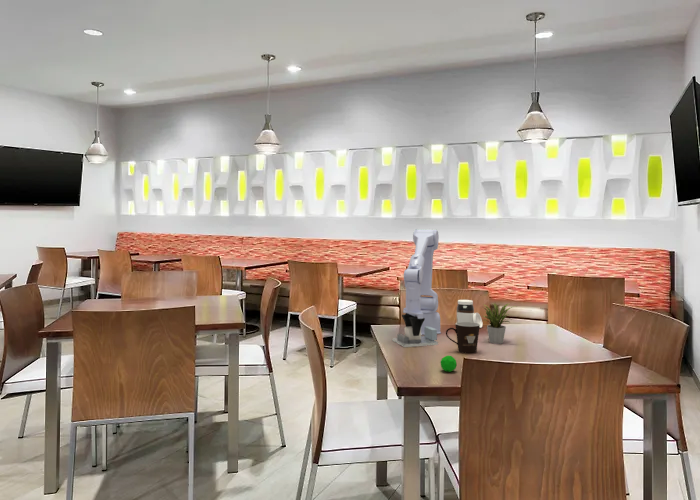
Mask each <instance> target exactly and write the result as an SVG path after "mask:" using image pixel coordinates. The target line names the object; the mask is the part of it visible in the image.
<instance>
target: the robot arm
mask: <svg viewBox="0 0 700 500" xmlns="http://www.w3.org/2000/svg"><path fill="white" fill-rule="evenodd" d="M412 240H413V243H414V245H415V248H414V254H412V255H411V256H410V259H409V263H408V266H407V268H406V269H404V272H403V281H404V282H403V283H404V289H405V307H403V310H402V313H403V314H401V317H402V318H403V321H404V325H405V327H411V326H412V330H413V336H419V334H420V329H421V336H424V327H428V326H429V327H432V328H434V329H436V330H437V335H438V334H439V335H440V334H442V332H441V315H440V313H439V312H438V308H439V296H438V295H439V294H438V293H437V292H436V291H434V289H432V288H433V287H432V285H433V284H432V283H433V264H434V263H433V262H434V252H435V251H436V250H438V249H439V231H438V230H437V229H436V228H435V229H433V228H432V229H430V228H429V229H418V228H416V229H414V230H413V234H412Z"/></svg>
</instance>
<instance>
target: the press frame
mask: <svg viewBox="0 0 700 500" xmlns="http://www.w3.org/2000/svg"><path fill="white" fill-rule="evenodd" d="M392 342H394V343H395V344H398V345H399V346H401V347H403V348H413V347H414V348H415V347H426V346H427V345H428V346H437V345H439V341H437V340H430V339H428V338H426V337H424V335H421V339H416V340H409V337H407V336H405V334H402V333H397V334H396V337H392Z"/></svg>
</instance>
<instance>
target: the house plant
mask: <svg viewBox="0 0 700 500" xmlns="http://www.w3.org/2000/svg"><path fill="white" fill-rule="evenodd" d="M482 305H483V306H484V307H483V306H480V307H482V308H483V309H484V310H485V314H486V315H482V317H484V318H486V319H485V321H486V322H488V323H489V324H487V325H486V326H487V327H486V329H487V336H488V340H489V341H488V342H489V343H491V344H496V345H500V344H503V343H504V340H505V339H504V338H505V333H506V328H507V327H506V325H502V324H503V323H506V322H508V323H510V321H509V320H511V318H509V317H508V318H507V316H508V314H507V312H508V311H509V310H510V309H511V308H517V307H518V306H516V305H513V306H511V307H509V308H508V307H507V306H508V305H509V303H507V304H505V305H503V306H502V307H501V309H500V312H499V307H498V305H497V304H496V302H494V303H493V309H492V310H491V308H489V306H487V305H486V304H484V303H483V304H482ZM485 307H486V308H485ZM487 319H488V320H489V321H488V320H487ZM483 321H484V319H483V320H482V322H483Z"/></svg>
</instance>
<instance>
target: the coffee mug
mask: <svg viewBox="0 0 700 500" xmlns="http://www.w3.org/2000/svg"><path fill="white" fill-rule="evenodd" d="M480 329H481V328H480V324H478V323H473V322H458V323H457V322H455V328H454V327H449V328H447V329H446V330H445V336H446V338H448V339H449V341H451V342H453V343H454V344H456V346H457V350H458V351H457V352H459V353H461V354H465V355H467V354H470V355H471V354H472V355H473V354H476V353H477V351H478V350H477V349H478V342H479V341H478V340H479V334H480ZM451 330H453V331H454V332H455V334H456V340H457V341H455V340H453V339H452V338H450V336H449V335H448V331H451Z"/></svg>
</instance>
